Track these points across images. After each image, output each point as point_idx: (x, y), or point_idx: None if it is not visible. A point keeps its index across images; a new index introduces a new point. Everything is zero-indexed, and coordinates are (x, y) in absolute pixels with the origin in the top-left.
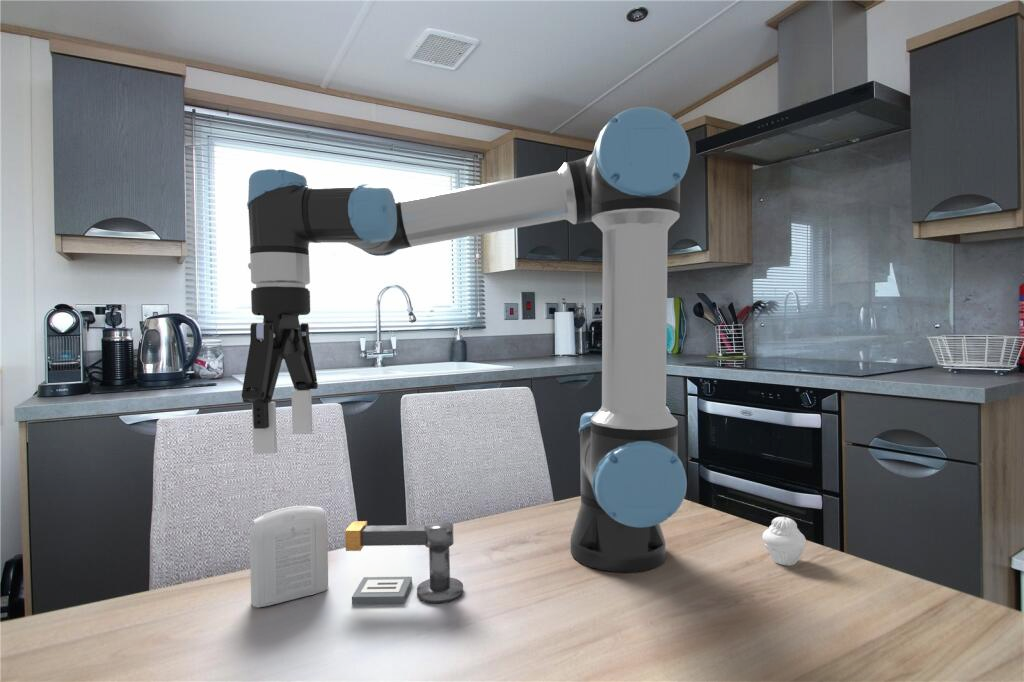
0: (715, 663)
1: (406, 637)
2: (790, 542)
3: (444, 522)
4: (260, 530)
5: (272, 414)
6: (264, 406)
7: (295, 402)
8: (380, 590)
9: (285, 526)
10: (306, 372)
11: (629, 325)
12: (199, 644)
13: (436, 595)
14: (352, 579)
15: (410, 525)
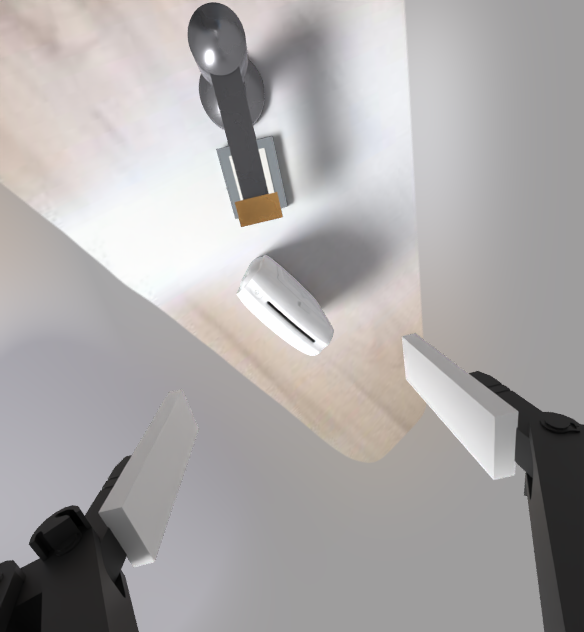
0: None
1: (343, 99)
2: None
3: (194, 33)
4: (331, 329)
5: (482, 387)
6: (539, 412)
7: (166, 501)
8: (266, 175)
9: (310, 305)
10: (87, 626)
11: None
12: (380, 312)
13: (256, 88)
14: (228, 240)
15: (221, 111)
